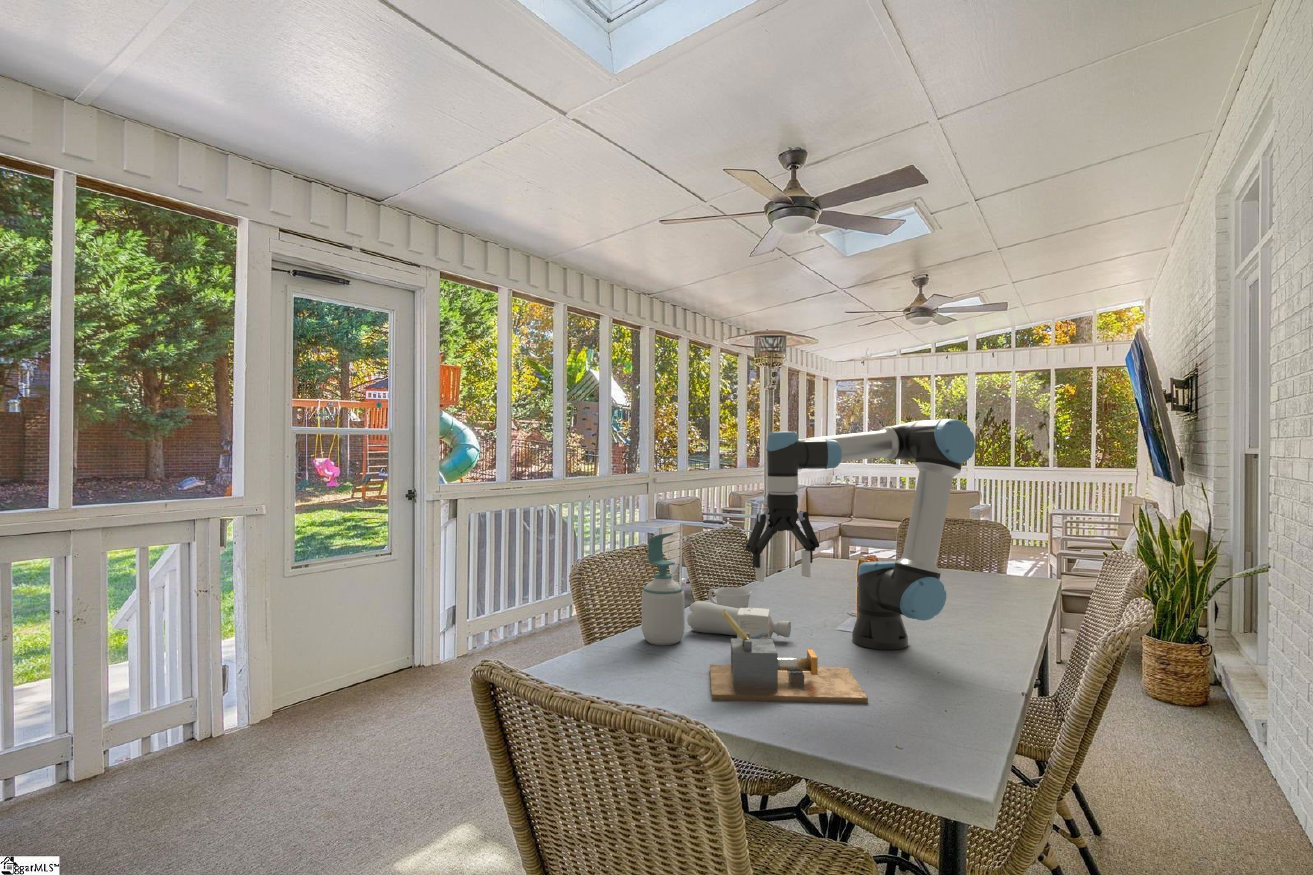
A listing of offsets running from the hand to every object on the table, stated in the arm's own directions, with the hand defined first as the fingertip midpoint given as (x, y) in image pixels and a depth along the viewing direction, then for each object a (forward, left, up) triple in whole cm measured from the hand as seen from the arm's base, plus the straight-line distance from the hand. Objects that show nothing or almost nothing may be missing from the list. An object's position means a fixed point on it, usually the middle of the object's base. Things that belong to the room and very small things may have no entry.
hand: (783, 578), depth 166 cm
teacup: (+11, -47, -23) cm, 54 cm away
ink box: (+6, -14, -23) cm, 28 cm away
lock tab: (+13, +9, -10) cm, 19 cm away
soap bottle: (+31, -25, -23) cm, 46 cm away
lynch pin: (+1, +9, -20) cm, 22 cm away
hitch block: (+1, +9, -23) cm, 25 cm away
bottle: (+9, -31, -24) cm, 40 cm away
